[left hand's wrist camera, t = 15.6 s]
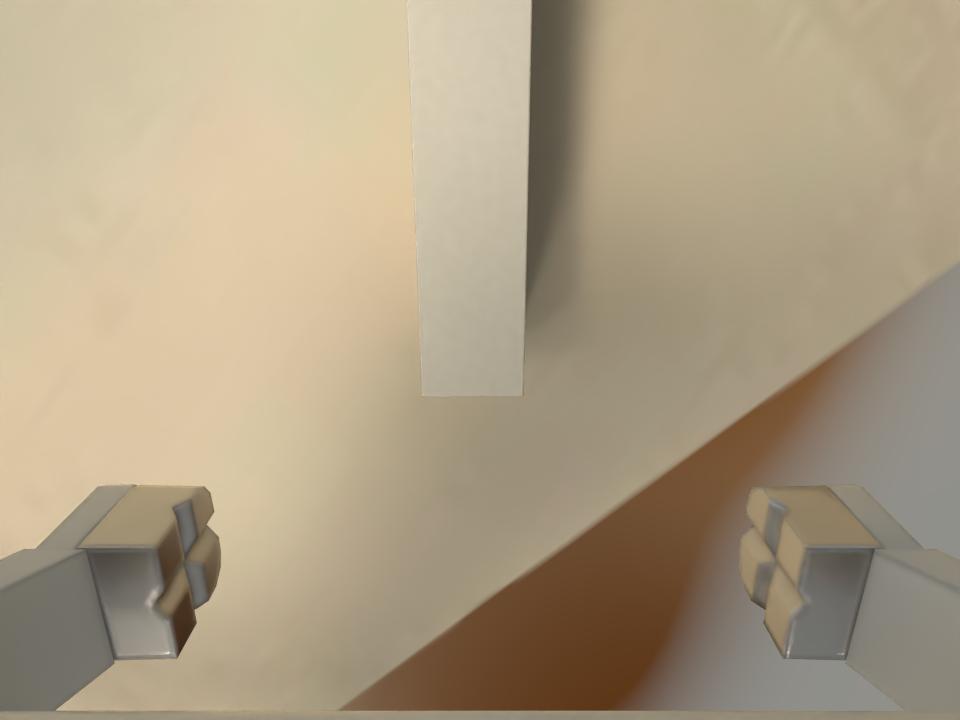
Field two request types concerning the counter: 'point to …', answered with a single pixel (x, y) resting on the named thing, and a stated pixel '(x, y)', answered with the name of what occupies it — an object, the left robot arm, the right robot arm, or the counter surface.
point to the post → (470, 191)
